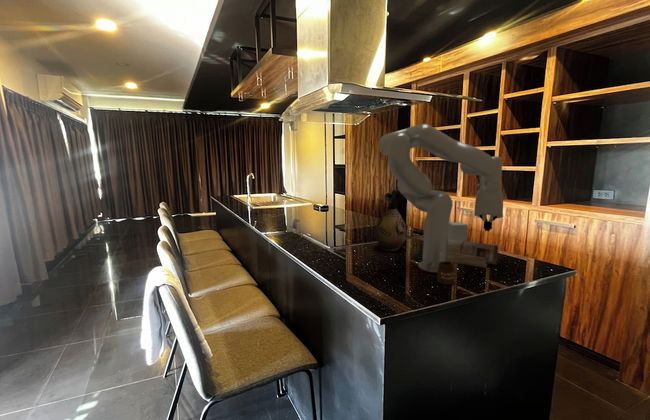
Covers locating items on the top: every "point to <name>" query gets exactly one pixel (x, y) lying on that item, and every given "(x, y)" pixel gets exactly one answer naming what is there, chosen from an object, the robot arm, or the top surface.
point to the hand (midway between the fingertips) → (487, 230)
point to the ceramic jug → (391, 225)
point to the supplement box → (457, 231)
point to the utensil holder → (446, 271)
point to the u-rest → (467, 260)
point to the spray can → (474, 249)
